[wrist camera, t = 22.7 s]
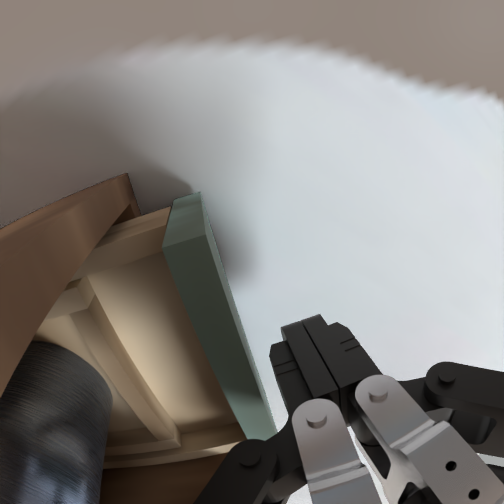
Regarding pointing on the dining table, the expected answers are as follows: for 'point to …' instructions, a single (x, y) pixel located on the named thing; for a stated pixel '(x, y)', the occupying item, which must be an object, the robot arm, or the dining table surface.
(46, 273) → the walnut box
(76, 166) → the dining table surface
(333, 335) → the robot arm
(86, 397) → the can
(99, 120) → the dining table surface
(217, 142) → the dining table surface
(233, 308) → the wooden drawer
